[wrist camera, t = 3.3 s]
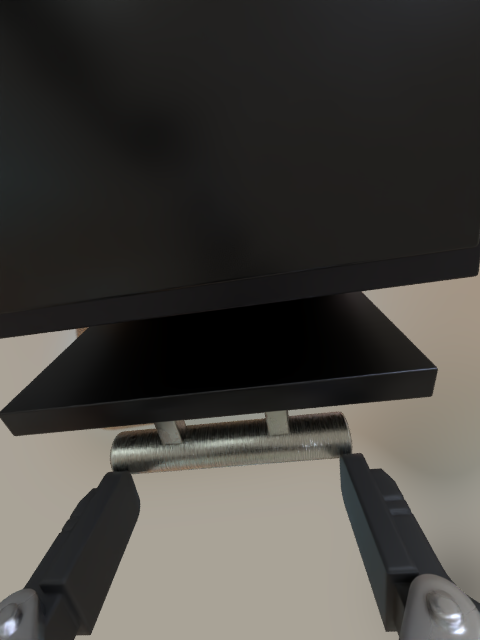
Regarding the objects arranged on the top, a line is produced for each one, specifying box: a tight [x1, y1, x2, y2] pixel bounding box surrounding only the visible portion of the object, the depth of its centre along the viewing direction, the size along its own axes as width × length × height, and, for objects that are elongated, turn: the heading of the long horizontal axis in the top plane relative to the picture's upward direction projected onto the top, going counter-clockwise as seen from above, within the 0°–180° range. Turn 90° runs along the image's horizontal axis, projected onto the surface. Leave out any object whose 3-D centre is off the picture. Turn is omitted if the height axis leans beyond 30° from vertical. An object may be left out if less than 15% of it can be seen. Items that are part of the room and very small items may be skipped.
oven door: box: [0, 291, 438, 474], centre depth 15 cm, size 5×13×14 cm, turn 99°
